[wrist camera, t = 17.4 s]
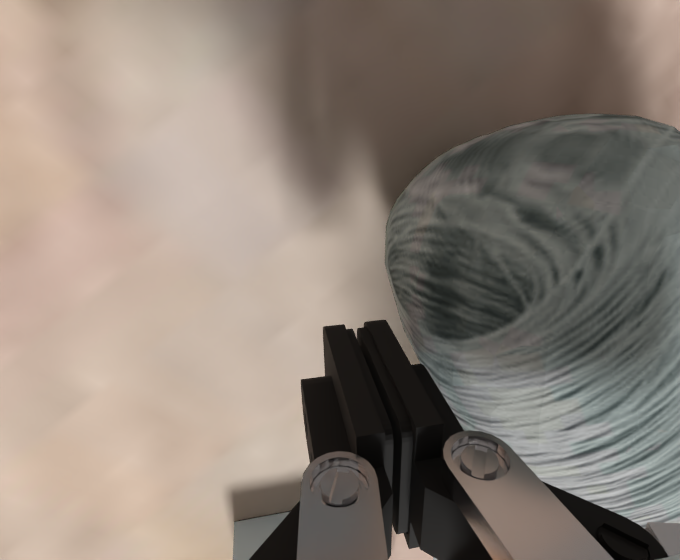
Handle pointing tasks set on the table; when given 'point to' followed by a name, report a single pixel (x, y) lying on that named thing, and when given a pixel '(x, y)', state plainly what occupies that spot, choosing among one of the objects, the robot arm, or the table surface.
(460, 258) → the gray yarn ball
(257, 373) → the table surface
